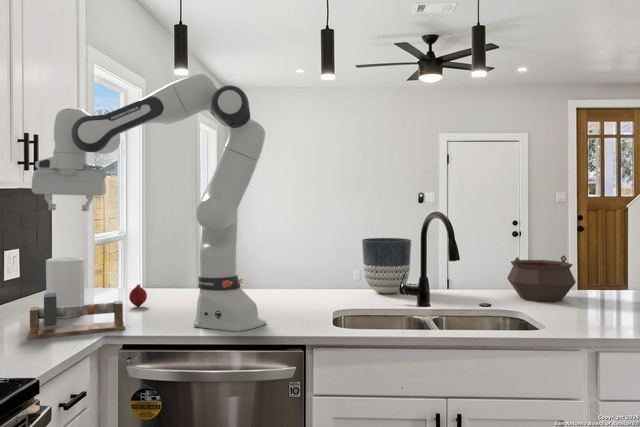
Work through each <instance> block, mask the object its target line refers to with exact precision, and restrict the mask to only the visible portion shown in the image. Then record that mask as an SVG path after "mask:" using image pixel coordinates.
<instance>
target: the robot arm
mask: <svg viewBox="0 0 640 427" xmlns="http://www.w3.org/2000/svg"><path fill="white" fill-rule="evenodd" d="M205 111H207V112H209V113H210V114H211V115H212V116H213V117H214V118H215V119H216V120H217V121H218V122H219V123H220V124H221V125H223V126H225V127H227V128H228V131H229V132H228V133H229V134H228V137H227V141H226V143H225V145H224V147H223V150H222V153H221V156H220V158H219V160H218V163H217V165H216V167H215V170H214V171H213V174H212V176H211V178H210V180H209V182H208V184H207V186H206V187H205V189H204V190H205V191H204V193H203V194H202V196H201V198H200V201H199V203H198V205H197V208H196V212H195V215H196V221H197V222H198V224H199V226H201V239H200V247H199V275H198V280H197V283H198V284H197V285H198V288H199V293H198V297H197V303H196V304H197V305H196V314H195V320H194V323H193V327H194V328H202V329H203V328H205V329H210V330H211V329H212V330H221V331H230V332H240V331H247V330H252V329H256V328H258V327H261V326H264V325H265V324H267V321H266V319H264V318H260V317H259V313H258V312H259V311H258V306H257V303H256V301H254V300H253V299H252V298H251V297H250V296H249V295H248V294H247V293H246V292H245V291H244V290H243V289H242V288H241V284H242V283H244V279H243V278H239V276H238V274H237V240H238V238H237V237H238V208H239V206H240V204H241V202H242V200H243V197H244V196H245V194H246V191H247V189H248V187H249V185H250V182H251V179H252V177H253V175H254V172H255V170H256V168H257V165H258V162H259V160H260V158H261V154H262V151H263V147H264V143H265V138H266V131H265V129H264V127H263V126H262V125H261V124H260V123H259V122H258V121H255V120H253V119H251V112H250V102H249V99H248V96H247V94H246V93H245V92H244V91H243V89H241V88H240V87H238V86H235V85H224V86H222V87H219V88H218V87H217V86H216V84H215V83H214V82H213V80H212V79H211V78H210V77H209V76H208V75H206V74H204V73H198V74H194V75H190V76H187V77H185V78H181V79H179V80H175V81H173V82H171V83H169V84H166V85H165V86H164V87H163V86H162V88H159V89H157V90H156V91H154V92H152V93H150V94H149V95H146V96H145V97H143V98H141V99H139V100H137V101H134V102H132V103H130V104H127V105H125V106H122V107H119V108H117V109H116V110H112V111H111V112H108V113H105V114H101V115H100V114H99V115H91V114H89V113H87V111H85V110H84V109H82V108H78V107H76V108H73V107H72V108H71V107H69V108H64V109H61V110H59V111H58V112H57V113H56V115H55V118H54V125H53V126H54V127H53V141H54V149H53V152H52V153H53V154H52V155H53V156H51V157H47V158H43V159H40V160H37V161H35V164H34V166H35V168H36V169H35V170H34V172H33V174H32V177H31V178H32V179H31V192H32V193H33V194H34V195H44V200H45V201H46V203H47V205H48V211H56V209H57V203H54V202H53V200H52V198H53V195H58V196H59V195H61V196H85V200H87V201H86V202H85V204H82V205H81V211H82V212H89V211H90V205H91V204H92V201H93V200H94V197H95V196H96V197H104V195H105V194H106V192H107V191H106V188H107V187H106V180H105V179H106V177H107V170H106V168H105V167H103V166H102V165H101V164H88V163H87V153H93V154H94V153H95V154H99V155H108V154H111V153H113V152H115V151H116V150H117V149H118V148H119V146H120V143H121V134H122V133H125V132H127V131H130V130H131V129H135V128H136V127H139V126H142V125H146V124H164V125H170V124H173V123H174V124H175V123H178V122H181V121H183V120H185V119H188V118H190V117H192V116H195V115H196V114H199V113H201V112H205Z"/></svg>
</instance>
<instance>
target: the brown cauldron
mask: <svg viewBox="0 0 640 427" xmlns="http://www.w3.org/2000/svg"><path fill="white" fill-rule="evenodd" d="M560 260H561V261H560ZM560 260H559V261H558V260H549V259H548V260H547V259H519V257H518V256H517V257H516V258H515V259H514V260H513V261H510V263H511V265H512V267H511V270H510V272H509V274H508V275H507V277H506V278H507V280H508V282H509V283H510V285H511V286H512V287H513V289H514V291H515V292H516V294H517V295H518V296H519V298H521V300H524V301H527V302H528V301H529V302H534V303H558V302H561V301H562V300H564V298H565V296H567V294H569V292H570V290H572V288H573V287H574V285H575V284H577V281H576V280H575V277H574V275H573V273H572V271H571V268H572V266H574V264H572V263H569V262H567V261H566V260H567V257H566V256H565V255H564V254H563V255H562V256H561V257H560Z"/></svg>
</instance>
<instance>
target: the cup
mask: <svg viewBox="0 0 640 427" xmlns="http://www.w3.org/2000/svg"><path fill="white" fill-rule="evenodd" d="M84 261H85V260H84V258H83V257H77V256H69V257H68V256H67V257H66V256H64V257H51V258H48V259H46V260H45V276H46V277H45V282H46V283H45V285H46V293H45V294H47V293H56V299H57V307H61V306H74V305H85V270H84V269H85V268H84V266H85V265H84V264H85V263H84ZM77 317H78V316H70V317H58V318H57V320H58V319H70V318H77Z"/></svg>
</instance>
